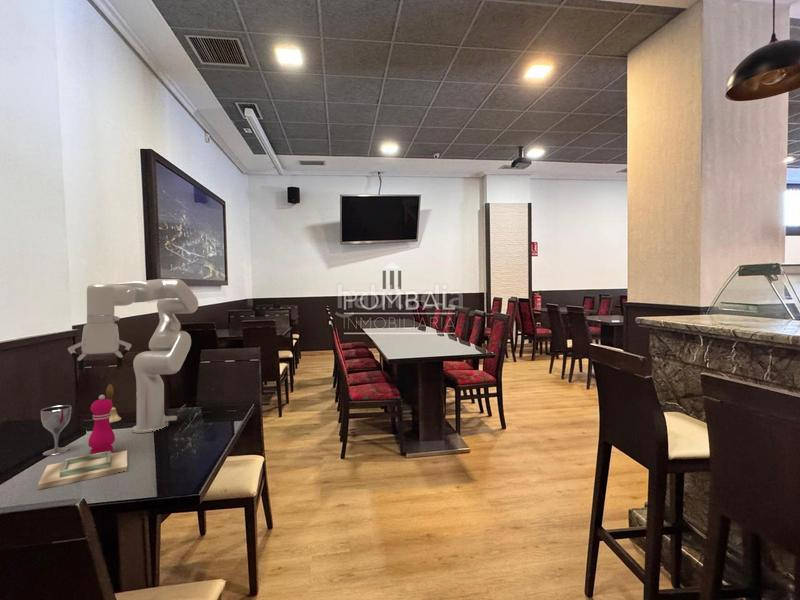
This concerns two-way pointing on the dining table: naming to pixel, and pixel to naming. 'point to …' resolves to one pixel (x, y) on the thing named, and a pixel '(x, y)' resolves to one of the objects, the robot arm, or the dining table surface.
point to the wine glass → (55, 424)
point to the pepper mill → (101, 427)
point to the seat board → (83, 468)
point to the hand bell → (114, 414)
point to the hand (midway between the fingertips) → (100, 370)
